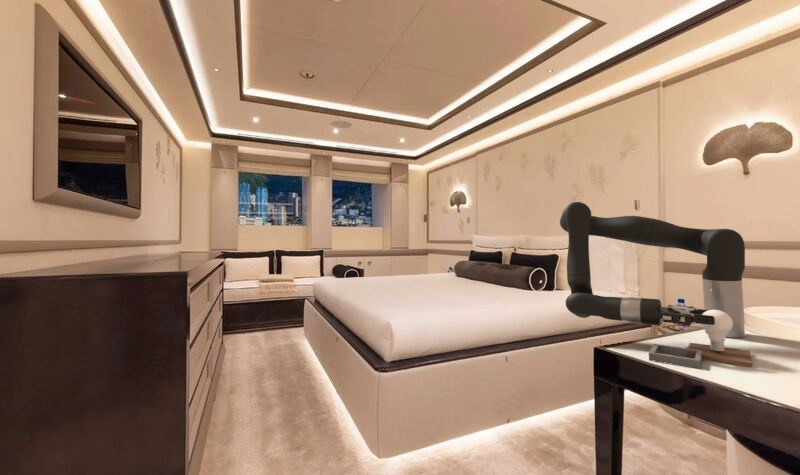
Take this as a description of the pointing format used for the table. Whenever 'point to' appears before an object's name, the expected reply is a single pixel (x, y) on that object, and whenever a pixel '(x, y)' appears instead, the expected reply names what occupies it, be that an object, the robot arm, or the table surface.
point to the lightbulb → (718, 329)
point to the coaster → (723, 355)
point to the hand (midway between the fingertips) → (715, 317)
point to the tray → (675, 359)
